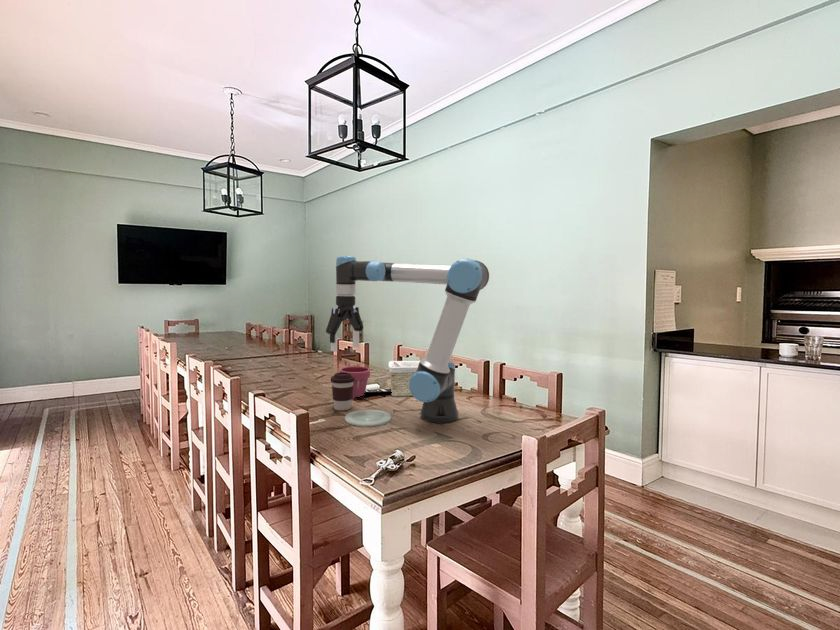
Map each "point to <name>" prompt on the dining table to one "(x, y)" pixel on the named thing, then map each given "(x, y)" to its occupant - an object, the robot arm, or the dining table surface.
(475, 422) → the dining table surface
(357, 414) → the dish
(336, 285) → the robot arm
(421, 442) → the dining table surface
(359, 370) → the plant pot
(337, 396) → the coffee cup
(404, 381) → the storage basket
